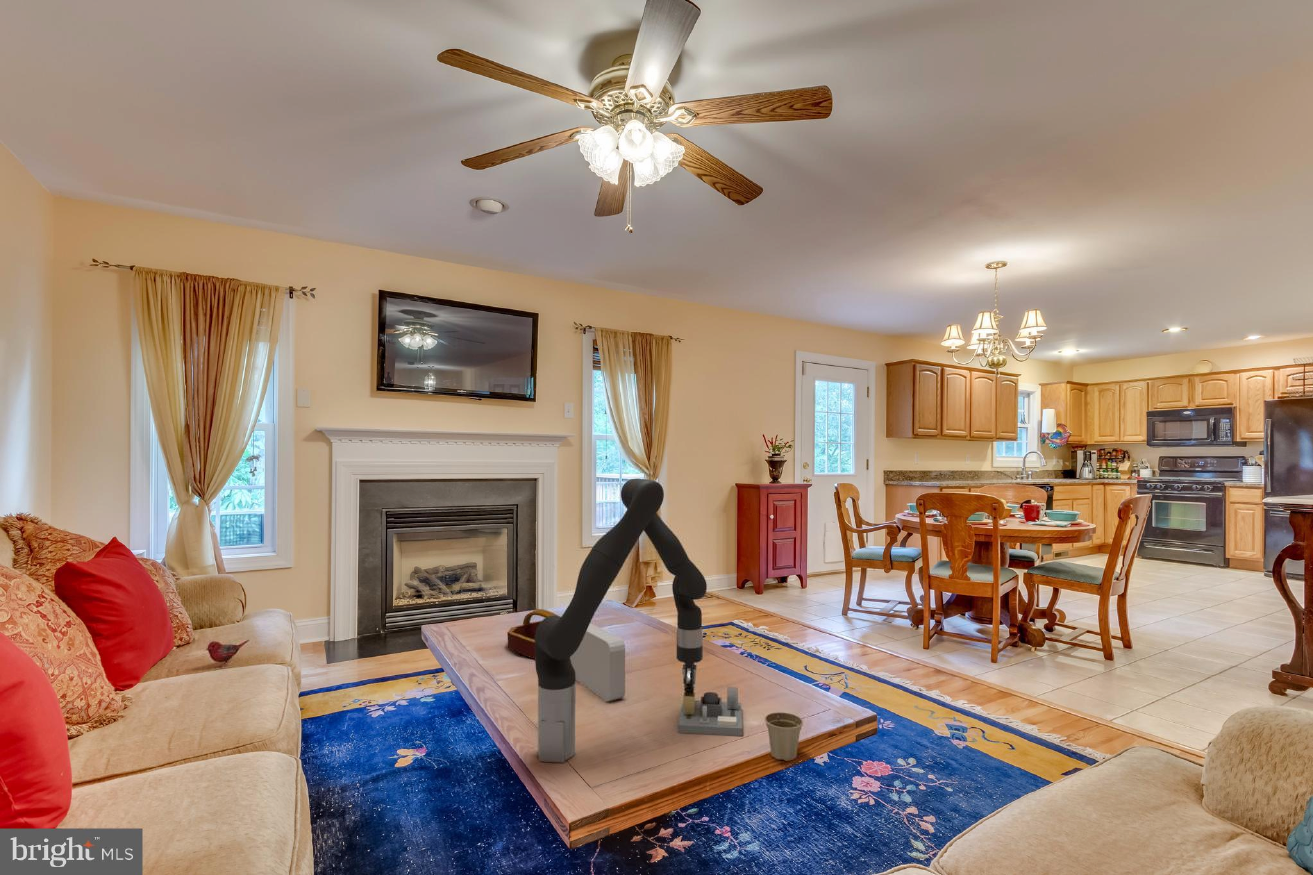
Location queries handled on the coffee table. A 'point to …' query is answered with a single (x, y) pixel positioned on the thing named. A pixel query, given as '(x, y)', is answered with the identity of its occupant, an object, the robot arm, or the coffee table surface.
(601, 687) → the rounded white slab
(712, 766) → the coffee table surface
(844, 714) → the coffee table surface
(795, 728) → the flower pot
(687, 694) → the gold rectangular block
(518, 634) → the decorative basket
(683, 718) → the control board
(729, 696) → the light grey block
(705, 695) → the black button
